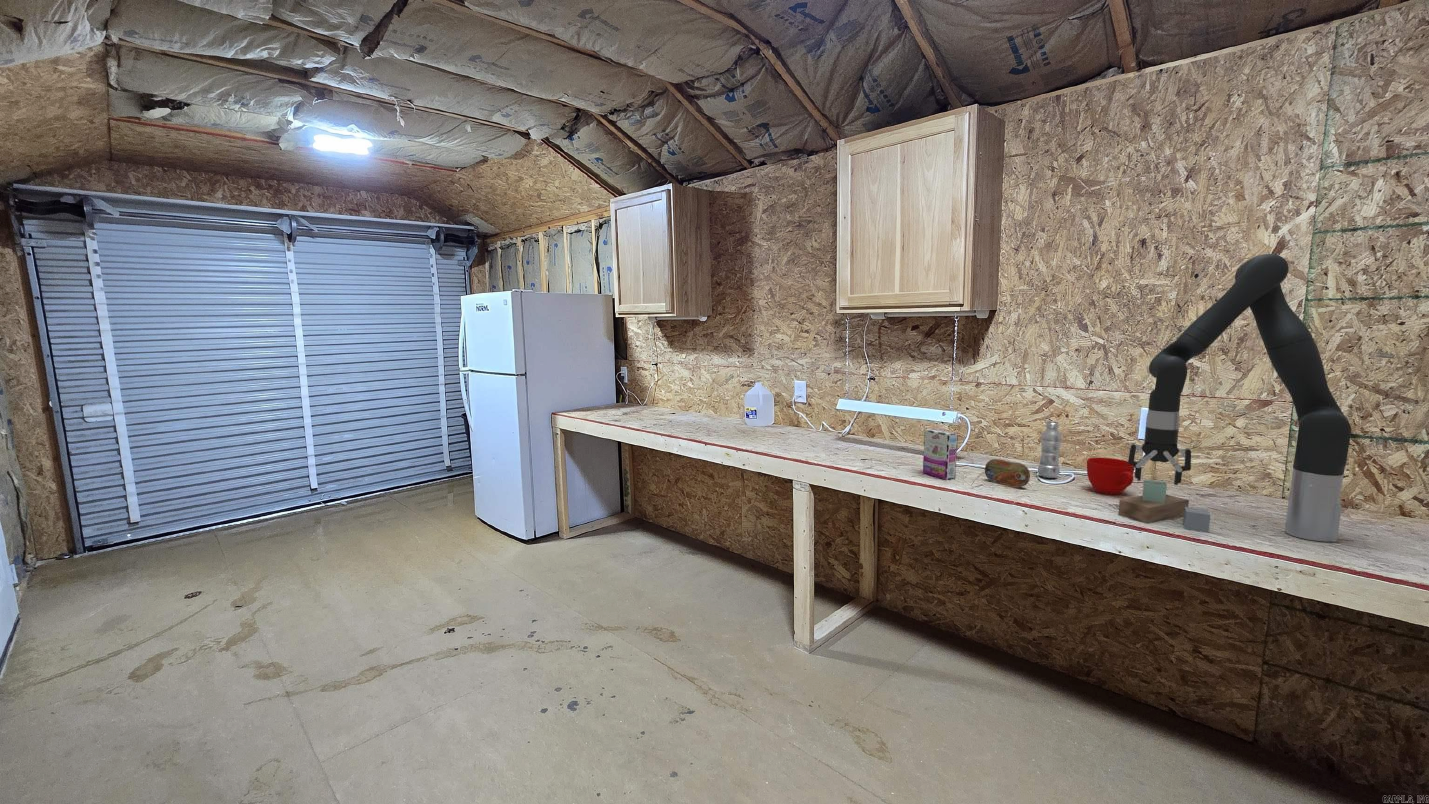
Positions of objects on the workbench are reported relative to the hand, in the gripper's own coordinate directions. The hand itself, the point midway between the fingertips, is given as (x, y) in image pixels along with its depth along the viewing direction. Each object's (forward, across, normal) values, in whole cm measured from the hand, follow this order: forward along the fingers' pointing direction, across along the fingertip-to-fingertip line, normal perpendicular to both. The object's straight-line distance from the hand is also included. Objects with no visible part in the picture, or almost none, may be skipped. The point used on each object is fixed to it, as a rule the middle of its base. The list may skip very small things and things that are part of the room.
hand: (1157, 482), depth 171 cm
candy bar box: (+9, +62, -12) cm, 64 cm away
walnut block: (+10, 0, 0) cm, 10 cm away
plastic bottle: (+10, +29, -30) cm, 43 cm away
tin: (+10, +40, -12) cm, 43 cm away
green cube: (+5, 0, 0) cm, 5 cm away
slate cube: (+10, -9, +7) cm, 15 cm away
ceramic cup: (+10, +10, -19) cm, 24 cm away
